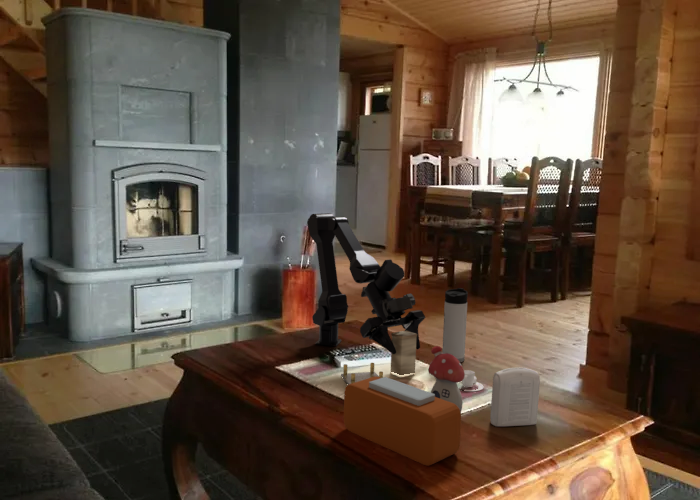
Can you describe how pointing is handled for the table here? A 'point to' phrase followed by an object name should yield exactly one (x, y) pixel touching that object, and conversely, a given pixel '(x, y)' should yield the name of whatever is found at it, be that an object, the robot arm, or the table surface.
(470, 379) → the teacup and saucer
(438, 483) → the table surface
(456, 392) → the decorative ornament
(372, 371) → the pin base
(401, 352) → the wooden block
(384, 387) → the alarm clock
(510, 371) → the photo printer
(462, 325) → the travel mug
